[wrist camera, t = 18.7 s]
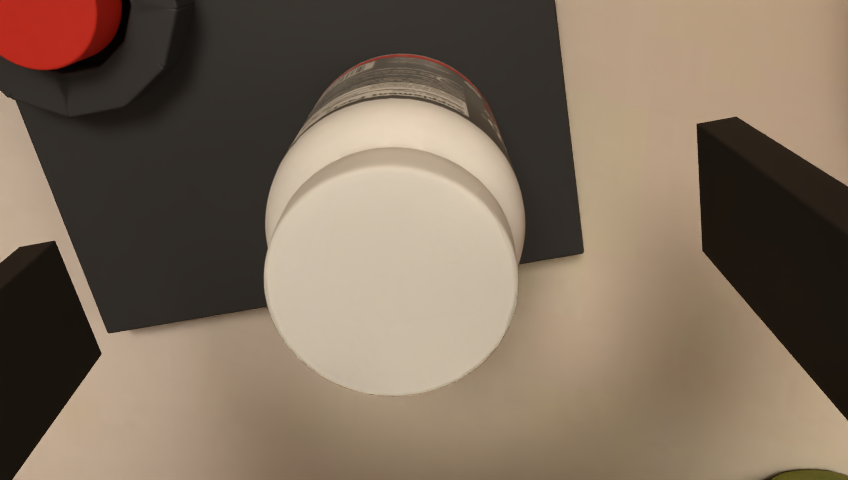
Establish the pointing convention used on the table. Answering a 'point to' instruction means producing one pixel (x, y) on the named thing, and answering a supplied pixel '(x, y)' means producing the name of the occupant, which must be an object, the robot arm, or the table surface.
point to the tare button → (56, 30)
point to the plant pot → (810, 475)
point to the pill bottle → (395, 230)
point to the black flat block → (261, 132)
